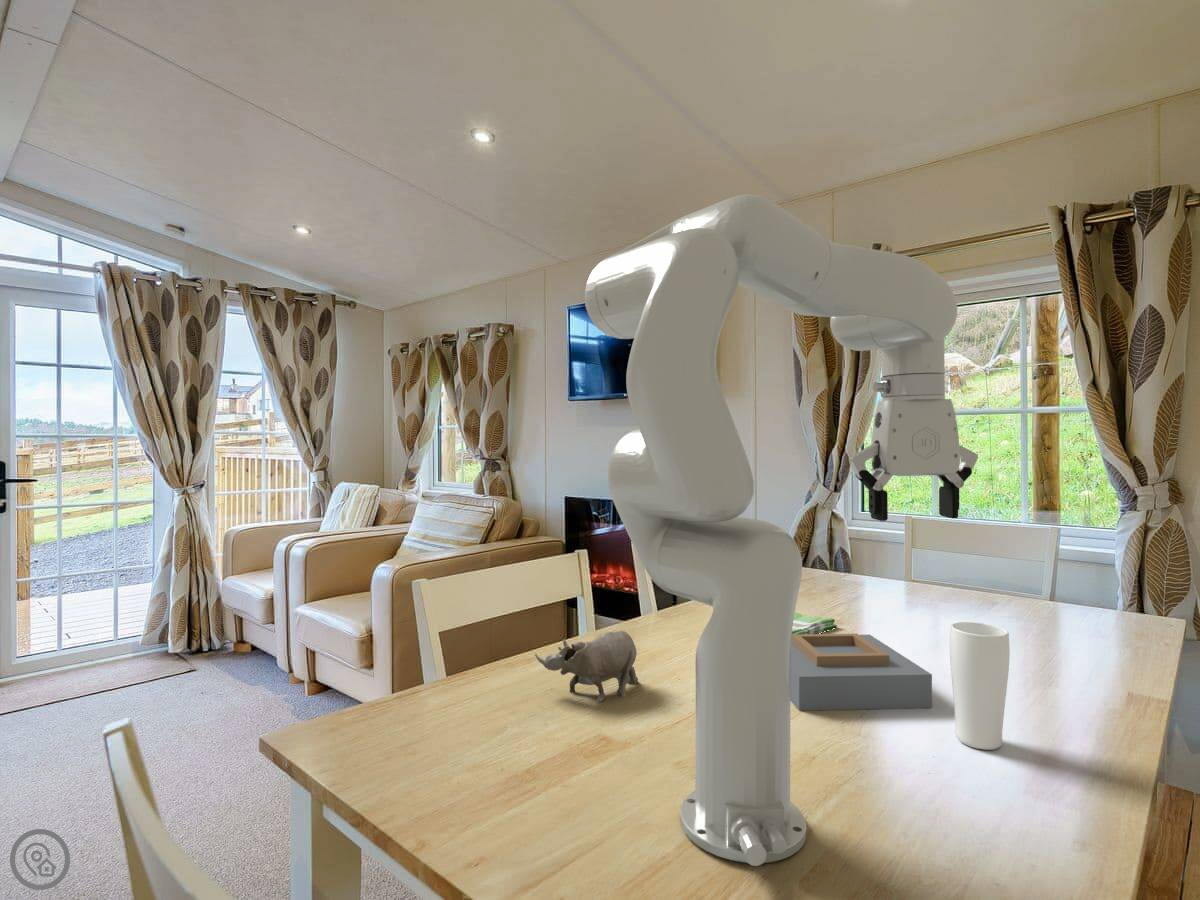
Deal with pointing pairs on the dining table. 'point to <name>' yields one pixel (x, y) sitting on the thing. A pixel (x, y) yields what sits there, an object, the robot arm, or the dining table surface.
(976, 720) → the white tapered cylinder
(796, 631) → the dish towel
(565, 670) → the rhinoceros figurine
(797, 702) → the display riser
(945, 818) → the dining table surface
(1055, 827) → the dining table surface
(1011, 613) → the dining table surface
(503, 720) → the dining table surface
